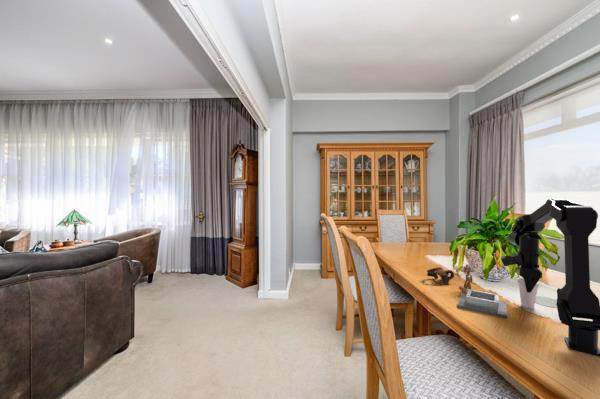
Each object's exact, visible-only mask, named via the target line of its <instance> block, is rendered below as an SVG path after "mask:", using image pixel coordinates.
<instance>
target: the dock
mask: <svg viewBox="0 0 600 399" xmlns="http://www.w3.org/2000/svg"><path fill="white" fill-rule="evenodd" d="M471 289H472V288H471ZM471 289H468V292H467V294H466V293H465V292H462V293H461V294H460V297H459V300H458V302H457V308H459V309H464V310H468V311H473V312H475V313H481V314H485V315H490V316H494V317H499V318H503V319H508V306H507V303H508V302H507V301H505V300H499V296H500V295H499V294H498V293H492V292H485V291H481V290H475V289H472V290H471Z"/></svg>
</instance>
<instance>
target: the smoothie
mask: <svg viewBox="0 0 600 399" xmlns="http://www.w3.org/2000/svg"><path fill="white" fill-rule="evenodd" d="M517 284H518V289H519V296H520V304H521V305H520V306H521V307H522V308H526V309H531V310H532V309H534V308H535V304H536V300H537V294H538V288H539V287H540V283H539V281H538V282H537V284H536V285H535V287H534V288H533V290H532V291H531V293H529V292H527V290H526V286H525V281H524V278H518V279H517Z"/></svg>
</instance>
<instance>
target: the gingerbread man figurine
mask: <svg viewBox="0 0 600 399" xmlns="http://www.w3.org/2000/svg"><path fill="white" fill-rule="evenodd" d="M463 273H464V276H465V281H464V284H463V285H459V286H458V287H459V289H460V290H461V291H462V293H464V294H467V292H468V289H471V290H473V288H472V285H471V283H473V276H472V273H471V265H470V264H468V263H467V264H466V265H465V266H463Z"/></svg>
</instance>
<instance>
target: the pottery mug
mask: <svg viewBox="0 0 600 399" xmlns="http://www.w3.org/2000/svg"><path fill="white" fill-rule="evenodd" d="M426 273H427V274H426V276H427V277H432V278H434V279H435V280H437V284H438V285H439V286H440V285H441V286H442V285H449V284H450V281H451V280H452V279H454V278H455V273H454V271H453V270H450V269H448V270H445V269H443V267H441V266H439V267H434V268H430V269H428V270H426ZM449 274H450V276H449ZM439 277H440V279H439Z"/></svg>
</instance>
